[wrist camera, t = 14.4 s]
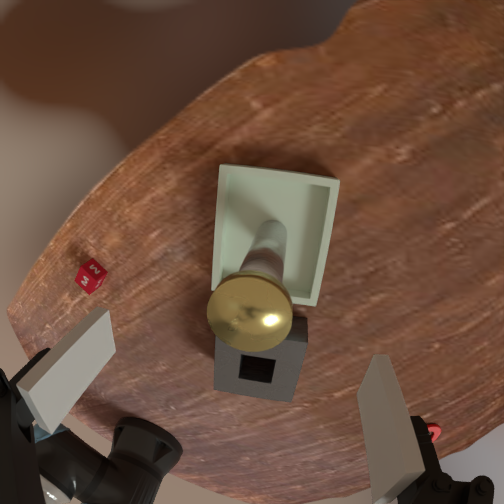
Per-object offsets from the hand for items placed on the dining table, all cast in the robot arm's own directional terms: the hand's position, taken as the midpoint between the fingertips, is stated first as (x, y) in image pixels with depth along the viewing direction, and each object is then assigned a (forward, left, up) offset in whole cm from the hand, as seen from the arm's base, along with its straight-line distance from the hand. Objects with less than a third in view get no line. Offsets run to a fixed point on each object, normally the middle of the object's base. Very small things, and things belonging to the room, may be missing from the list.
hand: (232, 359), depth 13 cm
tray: (0, 0, -20) cm, 20 cm away
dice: (-23, -9, -21) cm, 32 cm away
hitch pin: (0, 0, -20) cm, 20 cm away
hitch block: (+1, -15, -20) cm, 25 cm away
